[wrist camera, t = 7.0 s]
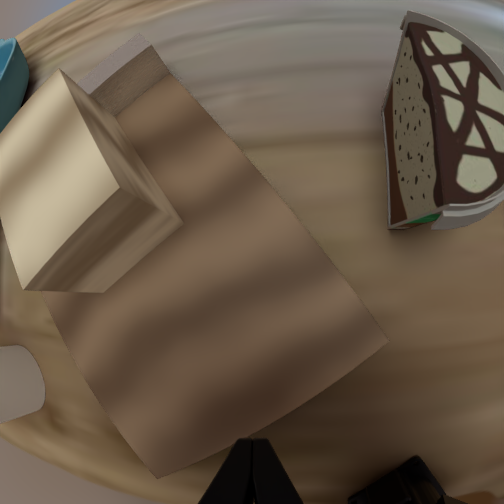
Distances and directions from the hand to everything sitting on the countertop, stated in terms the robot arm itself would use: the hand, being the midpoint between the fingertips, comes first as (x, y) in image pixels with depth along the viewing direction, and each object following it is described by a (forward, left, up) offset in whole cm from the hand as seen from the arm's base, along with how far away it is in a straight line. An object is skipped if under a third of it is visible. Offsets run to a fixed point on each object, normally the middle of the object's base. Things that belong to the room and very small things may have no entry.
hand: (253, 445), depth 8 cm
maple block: (+17, +4, -11) cm, 21 cm away
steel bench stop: (+24, +4, -11) cm, 27 cm away
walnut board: (+11, +4, -13) cm, 17 cm away
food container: (+4, -16, -13) cm, 21 cm away
